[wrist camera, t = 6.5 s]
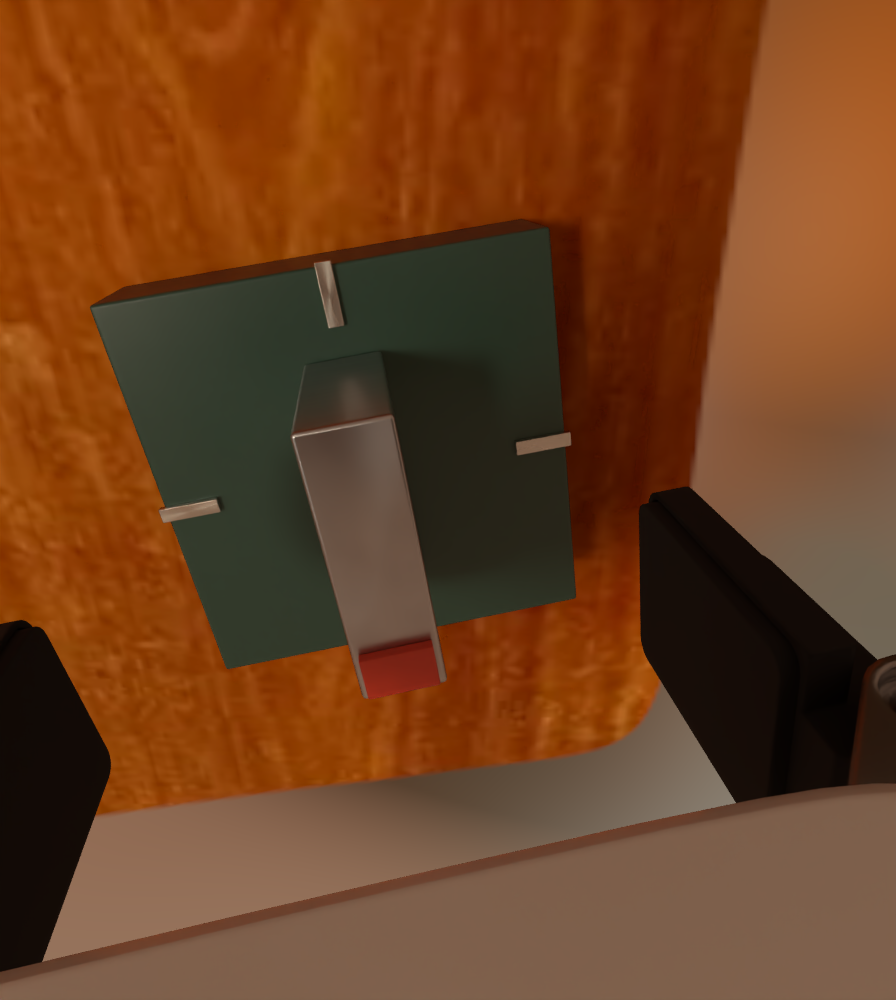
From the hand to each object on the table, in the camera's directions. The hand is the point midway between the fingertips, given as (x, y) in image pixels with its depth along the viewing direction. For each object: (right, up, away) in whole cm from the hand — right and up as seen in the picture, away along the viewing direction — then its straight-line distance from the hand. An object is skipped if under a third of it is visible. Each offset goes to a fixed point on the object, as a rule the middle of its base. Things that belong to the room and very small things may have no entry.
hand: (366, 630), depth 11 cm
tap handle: (-1, +3, +6) cm, 7 cm away
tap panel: (-1, +4, +8) cm, 9 cm away
